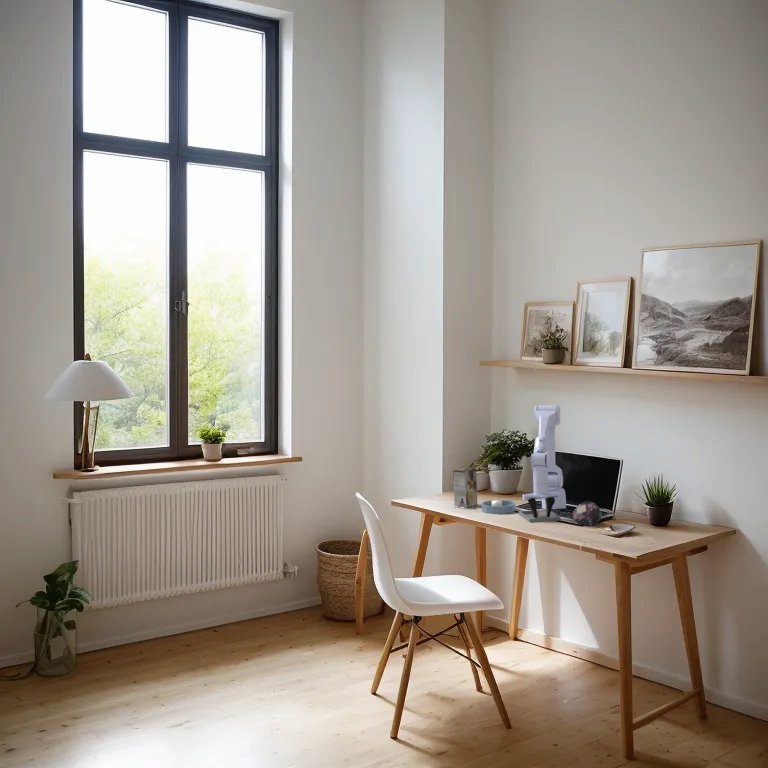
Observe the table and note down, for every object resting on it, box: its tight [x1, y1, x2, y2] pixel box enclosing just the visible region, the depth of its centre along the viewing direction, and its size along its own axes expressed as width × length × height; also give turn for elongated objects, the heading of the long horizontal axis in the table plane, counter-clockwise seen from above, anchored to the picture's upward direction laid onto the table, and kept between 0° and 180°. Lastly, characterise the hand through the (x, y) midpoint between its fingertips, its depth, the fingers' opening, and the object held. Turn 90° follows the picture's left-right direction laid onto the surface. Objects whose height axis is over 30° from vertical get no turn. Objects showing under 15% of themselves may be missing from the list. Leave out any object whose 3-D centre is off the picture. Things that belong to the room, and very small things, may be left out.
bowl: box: [480, 499, 517, 515], centre depth 359 cm, size 14×14×4 cm
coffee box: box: [452, 467, 478, 509], centre depth 374 cm, size 9×6×16 cm
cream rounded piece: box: [536, 508, 547, 518], centre depth 340 cm, size 4×4×3 cm
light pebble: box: [492, 499, 502, 506], centre depth 361 cm, size 4×4×3 cm
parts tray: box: [518, 509, 561, 523], centre depth 343 cm, size 12×15×2 cm
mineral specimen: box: [572, 500, 603, 527], centre depth 329 cm, size 10×10×10 cm
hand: (541, 517), depth 340 cm, fingers open, 5 cm apart
